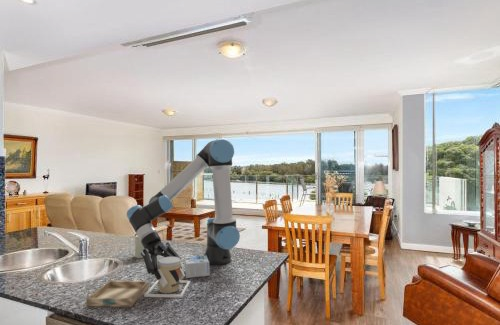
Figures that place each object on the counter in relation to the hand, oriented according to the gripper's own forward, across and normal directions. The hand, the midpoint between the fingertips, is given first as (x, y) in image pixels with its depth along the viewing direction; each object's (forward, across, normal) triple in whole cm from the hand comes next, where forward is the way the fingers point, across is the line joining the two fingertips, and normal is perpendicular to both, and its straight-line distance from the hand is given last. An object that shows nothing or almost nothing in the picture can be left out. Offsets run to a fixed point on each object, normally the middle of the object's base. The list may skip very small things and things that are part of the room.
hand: (174, 281), depth 115 cm
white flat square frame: (+1, 0, -5) cm, 5 cm away
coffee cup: (+1, 0, -5) cm, 5 cm away
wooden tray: (-7, +15, -13) cm, 21 cm away
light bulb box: (-6, -16, -7) cm, 18 cm away
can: (-32, -24, -38) cm, 55 cm away
